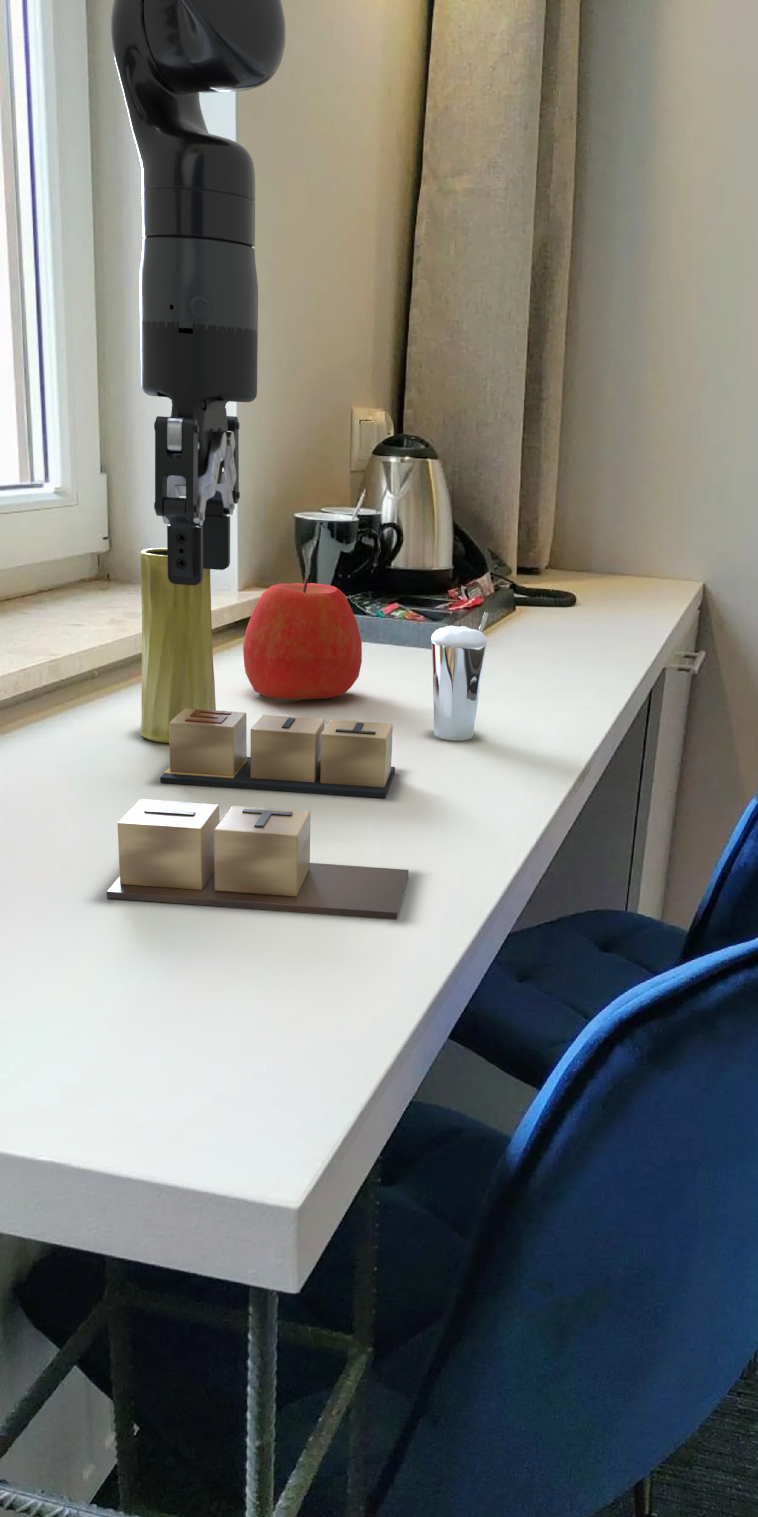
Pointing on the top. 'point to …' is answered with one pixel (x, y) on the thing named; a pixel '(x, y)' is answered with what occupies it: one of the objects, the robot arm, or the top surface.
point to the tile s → (207, 742)
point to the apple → (302, 643)
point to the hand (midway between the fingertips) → (200, 576)
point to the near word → (242, 862)
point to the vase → (173, 646)
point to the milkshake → (457, 679)
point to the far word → (310, 758)
